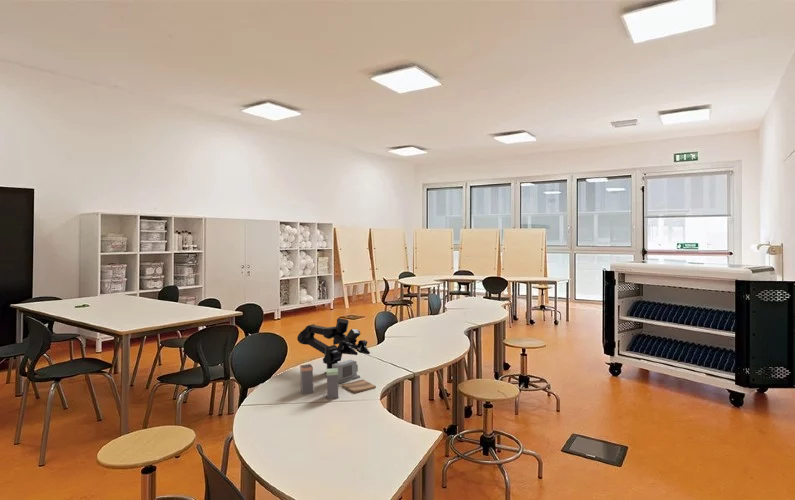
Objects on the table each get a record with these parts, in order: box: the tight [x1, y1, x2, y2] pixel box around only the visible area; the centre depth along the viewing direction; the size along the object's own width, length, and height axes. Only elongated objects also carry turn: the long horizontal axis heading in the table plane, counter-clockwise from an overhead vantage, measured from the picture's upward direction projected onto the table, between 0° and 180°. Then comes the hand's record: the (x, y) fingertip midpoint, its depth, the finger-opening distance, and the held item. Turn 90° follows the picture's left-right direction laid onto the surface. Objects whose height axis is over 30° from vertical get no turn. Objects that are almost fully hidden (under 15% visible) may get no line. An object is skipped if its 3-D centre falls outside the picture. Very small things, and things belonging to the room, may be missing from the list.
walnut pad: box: [341, 379, 377, 394], centre depth 217 cm, size 12×12×1 cm
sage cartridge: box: [325, 368, 339, 400], centre depth 205 cm, size 5×5×12 cm
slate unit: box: [332, 359, 361, 385], centre depth 229 cm, size 8×14×8 cm, turn 132°
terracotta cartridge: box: [299, 363, 314, 395], centre depth 212 cm, size 5×5×12 cm
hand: (363, 353), depth 223 cm, fingers open, 9 cm apart
